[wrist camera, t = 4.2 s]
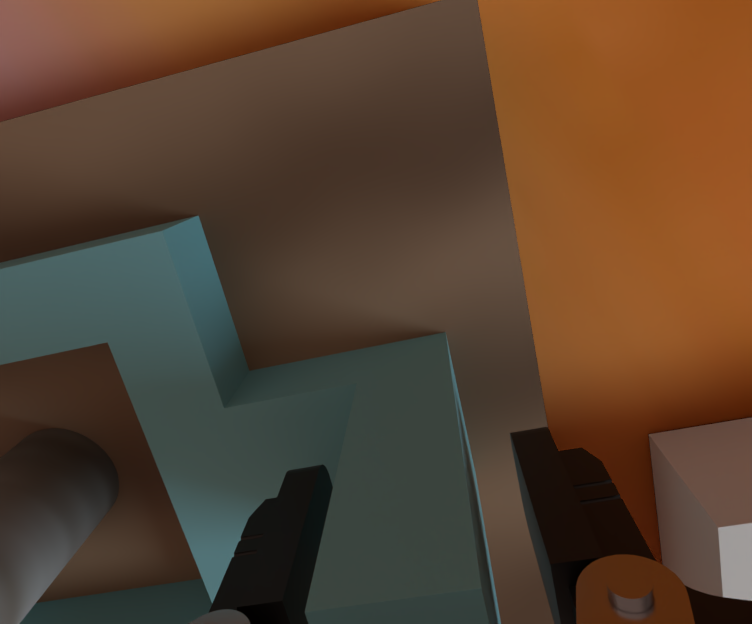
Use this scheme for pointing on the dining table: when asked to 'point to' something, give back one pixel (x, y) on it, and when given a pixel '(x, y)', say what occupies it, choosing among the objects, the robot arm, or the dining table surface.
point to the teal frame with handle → (265, 436)
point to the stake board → (271, 274)
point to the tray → (706, 505)
